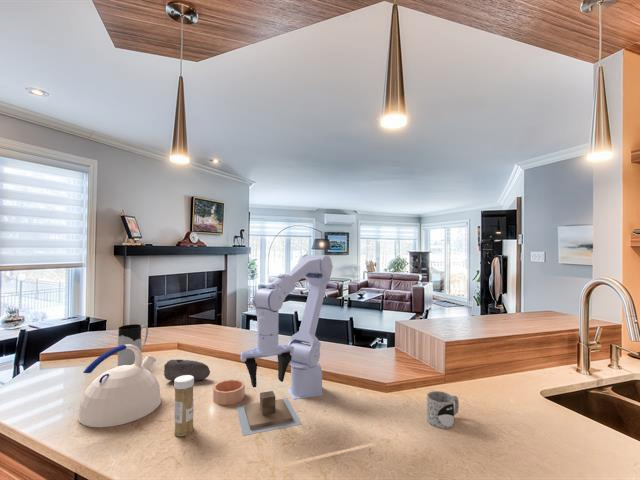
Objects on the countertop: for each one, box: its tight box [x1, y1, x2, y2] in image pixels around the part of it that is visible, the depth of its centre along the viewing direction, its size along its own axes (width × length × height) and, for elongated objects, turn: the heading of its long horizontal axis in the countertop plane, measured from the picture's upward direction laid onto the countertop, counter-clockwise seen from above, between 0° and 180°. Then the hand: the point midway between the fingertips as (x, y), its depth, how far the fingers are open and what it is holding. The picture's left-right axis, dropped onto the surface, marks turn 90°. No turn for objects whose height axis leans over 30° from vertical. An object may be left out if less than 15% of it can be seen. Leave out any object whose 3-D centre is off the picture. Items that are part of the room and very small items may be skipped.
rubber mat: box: [236, 397, 303, 436], centre depth 89 cm, size 15×15×1 cm
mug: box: [426, 390, 460, 430], centre depth 87 cm, size 10×7×7 cm
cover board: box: [244, 390, 293, 430], centre depth 89 cm, size 11×11×6 cm
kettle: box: [77, 344, 162, 429], centre depth 94 cm, size 20×21×18 cm
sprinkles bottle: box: [173, 375, 195, 438], centre depth 82 cm, size 5×5×14 cm
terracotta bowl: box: [212, 378, 246, 406], centre depth 99 cm, size 9×9×4 cm
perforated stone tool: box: [163, 359, 211, 382], centre depth 113 cm, size 15×5×7 cm, turn 90°
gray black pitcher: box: [116, 324, 149, 367], centre depth 128 cm, size 9×14×15 cm, turn 171°
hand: (267, 383), depth 89 cm, fingers open, 7 cm apart
